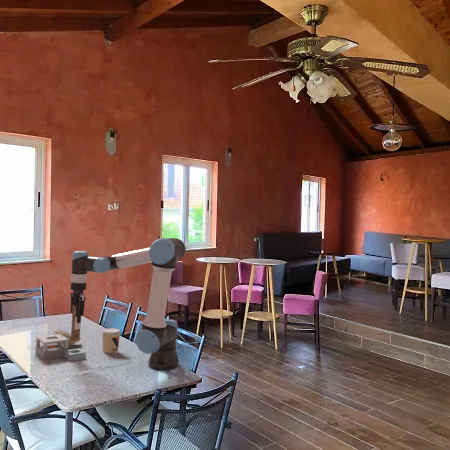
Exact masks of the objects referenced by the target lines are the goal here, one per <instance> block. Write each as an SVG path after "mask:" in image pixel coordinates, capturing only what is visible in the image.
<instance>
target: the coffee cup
mask: <svg viewBox="0 0 450 450" xmlns="http://www.w3.org/2000/svg"><path fill="white" fill-rule="evenodd" d="M101 334H102V352H103V353H105V354H115V355H117V354H118V353H119V352H118V351H119V343H120V336H121V330H120V329H119V328H113V327H111V328H104V329H103V330H102V333H101Z"/></svg>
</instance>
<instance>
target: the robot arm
mask: <svg viewBox="0 0 450 450" xmlns="http://www.w3.org/2000/svg"><path fill="white" fill-rule="evenodd" d="M186 252H187V248H186V245H185V243H184V241H182V240H181V239H180V238H178V237H177V238H176V237H170V238H168V237H162V238H159V239H156V240H154V241H153V242H152V244H150V246H149V247H147V248H142V249H137V250H132V251H128V252H124V253H123V252H122V253H117V254H112V255H108V256H105V255H103V256H89V252H87V251H82V250H81V251H80V250H77V251H76V250H75V251H73V252H72V258H71V273H70V281H71V282H70V290H71V291H72V292H70V313H72V312H73V305H76V316H75V330H76V329H80V330H81V328H82V327H81V324H82V316H84V314H85V304H86V303H85V302H86V296H84V291H85V290H87V278H88V272H92V273H97V274H103V273H104V274H107V272H108V271H114V270H115V271H116V270H119V269H123V268H130V267H134V266H139V265H144V264H150V266H151V267H152V268H153V271H152V278H151V285H150V291H149V298H148V304H147V311H146V317H145V319H143V320H142V322H141V327H140V330H139V331H138V332H137V334H136V335H135V344H136V347H137V348H138V350H139V351H140V352H142V353H143V354H146V355H150V356H149V359H148V364H147V365H148V367H149V368H151V369H153V370H158V371H169V370H174V369H177V368H178V367H179V365H180V361H179V356H178V353H177V341H178V340H177V336H178V322H177V320H174V319H170V318H165V317H166V313H167V307H168V299H169V298H168V297H169V293H170V286H171V279H172V274H173V271H175V270H176V269H177V264H178V263H177V262H179V261H181V260H183V258H184V257H185V255H186Z"/></svg>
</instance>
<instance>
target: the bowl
mask: <svg viewBox="0 0 450 450" xmlns="http://www.w3.org/2000/svg"><path fill="white" fill-rule="evenodd" d="M53 331H54V333H55V334H61V335H62V336H64V337H66V338H67V339H69V342H68V347H71V346H73V345H75V344H76V343H77V342H72V341H71V333H69V332H67V331H64V330H61V329H54V330H53ZM80 341H81V337H80ZM60 343H61V344H63V345H64V342H60Z"/></svg>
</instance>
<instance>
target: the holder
mask: <svg viewBox="0 0 450 450" xmlns="http://www.w3.org/2000/svg"><path fill="white" fill-rule="evenodd" d="M86 354H87V352H86V351H85V350H83V349H81V348H80V347H79V348H74V349H73V348H72V349H68V350H65V351H64V357H63V358H65V359H66V360H68V361H70V362H71V361H78V360H83V359H87V358H86Z"/></svg>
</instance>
